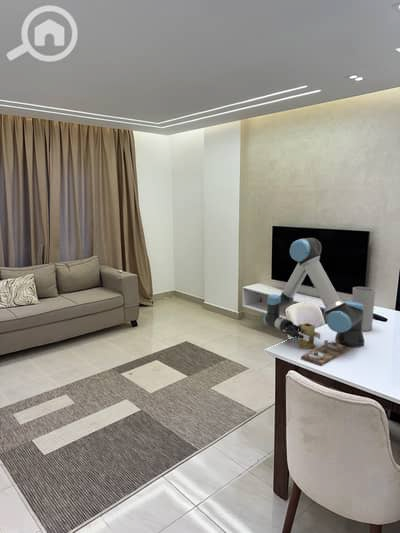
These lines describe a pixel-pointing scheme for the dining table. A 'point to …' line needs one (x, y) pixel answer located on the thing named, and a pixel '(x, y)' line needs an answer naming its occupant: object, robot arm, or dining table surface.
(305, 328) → the yellow tan stepped cylinder
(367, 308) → the cylinder vase
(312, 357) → the board
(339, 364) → the dining table surface
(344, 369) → the dining table surface
